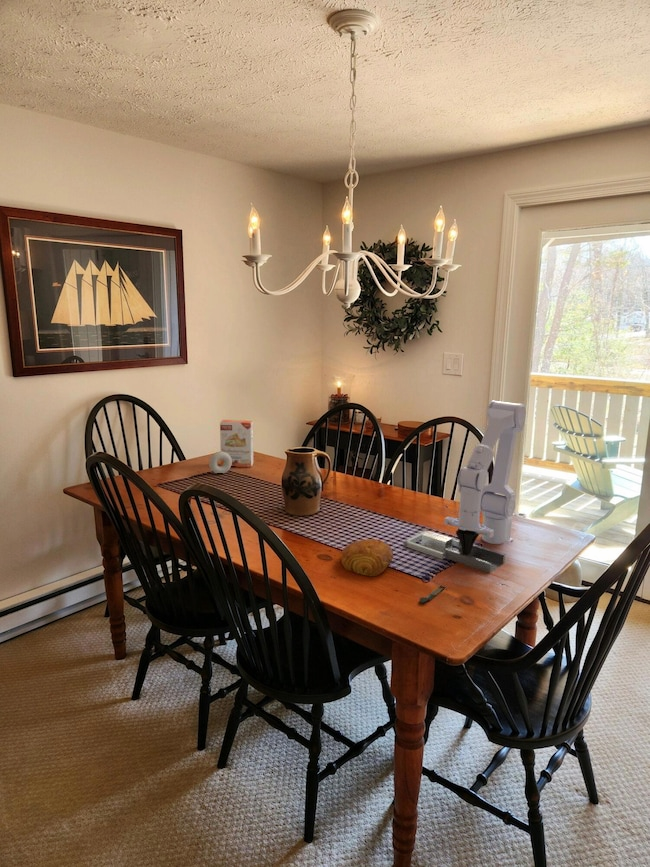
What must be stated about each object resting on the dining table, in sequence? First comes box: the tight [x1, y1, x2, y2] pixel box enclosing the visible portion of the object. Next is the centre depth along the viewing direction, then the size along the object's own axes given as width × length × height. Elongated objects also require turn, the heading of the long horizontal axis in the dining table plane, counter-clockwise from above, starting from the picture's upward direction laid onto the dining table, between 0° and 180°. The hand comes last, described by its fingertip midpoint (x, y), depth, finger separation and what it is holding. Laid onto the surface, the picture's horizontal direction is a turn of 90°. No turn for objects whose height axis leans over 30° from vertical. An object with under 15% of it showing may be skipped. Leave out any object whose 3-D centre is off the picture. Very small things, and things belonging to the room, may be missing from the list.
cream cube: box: [433, 534, 454, 554], centre depth 167 cm, size 4×4×4 cm
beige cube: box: [420, 530, 441, 549], centre depth 170 cm, size 4×4×4 cm
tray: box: [403, 530, 459, 560], centre depth 169 cm, size 12×13×2 cm
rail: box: [444, 540, 506, 574], centre depth 160 cm, size 9×14×4 cm, turn 47°
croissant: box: [340, 538, 394, 577], centre depth 158 cm, size 14×16×8 cm
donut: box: [208, 450, 232, 474], centre depth 242 cm, size 10×3×10 cm, turn 118°
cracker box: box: [219, 419, 254, 468], centre depth 254 cm, size 14×6×21 cm, turn 86°
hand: (466, 554), depth 162 cm, fingers closed
